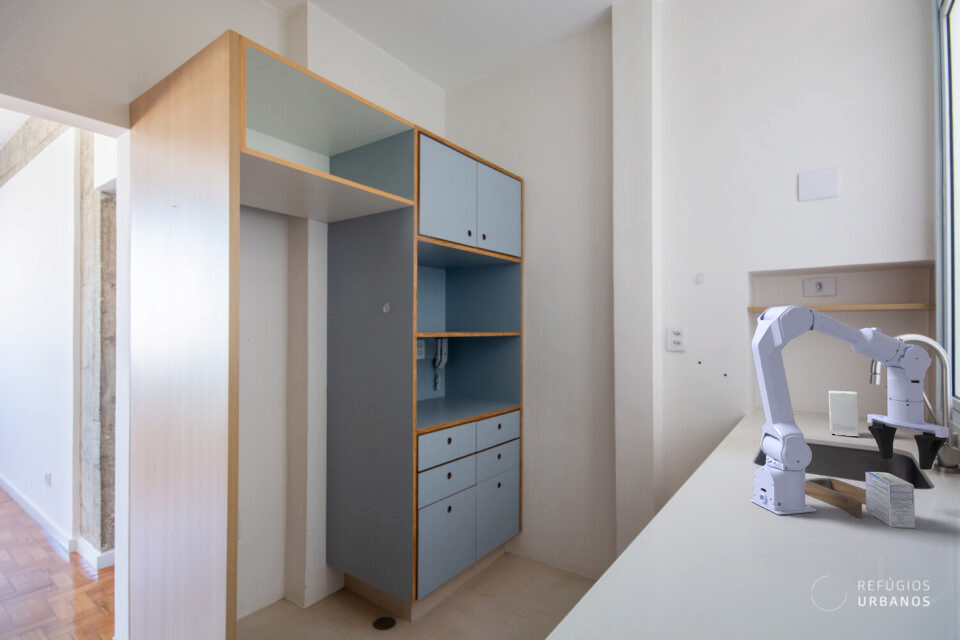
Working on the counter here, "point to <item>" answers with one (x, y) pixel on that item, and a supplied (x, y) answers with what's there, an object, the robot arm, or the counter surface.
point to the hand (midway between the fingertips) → (905, 463)
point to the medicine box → (890, 499)
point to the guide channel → (837, 494)
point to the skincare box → (843, 411)
